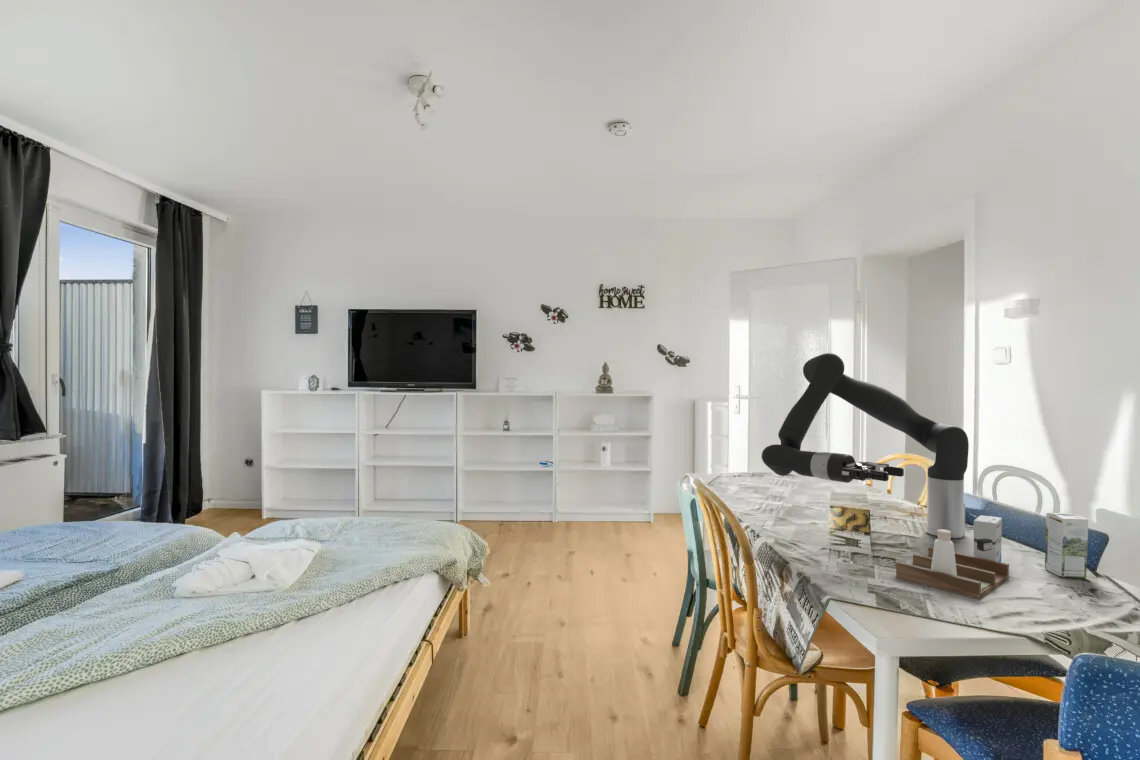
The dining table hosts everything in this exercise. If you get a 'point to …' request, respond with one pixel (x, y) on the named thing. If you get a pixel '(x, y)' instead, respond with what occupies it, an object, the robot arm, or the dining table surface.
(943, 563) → the salt shaker
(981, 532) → the ink box
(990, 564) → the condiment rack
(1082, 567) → the syrup box
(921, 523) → the dining table surface
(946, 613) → the dining table surface
